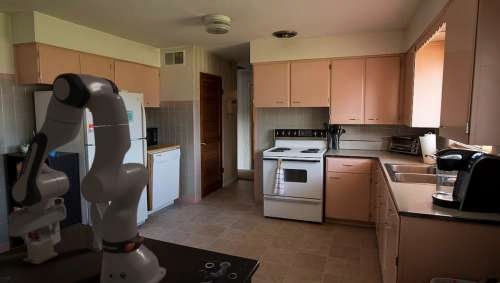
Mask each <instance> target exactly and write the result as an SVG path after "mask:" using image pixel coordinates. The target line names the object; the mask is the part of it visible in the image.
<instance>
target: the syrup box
mask: <svg viewBox="0 0 500 283" xmlns="http://www.w3.org/2000/svg"><path fill="white" fill-rule="evenodd" d="M51 228H52V225H48V226H45V227H43V228H40V229H37V233H38V239H39V238H41V237H45V238H50V239H53V246H55V245H57V244H58V243H59V242H61V231H60V221H59V222H58V226H57V228H56V233H55V234H53V235H50V234H49V233H50V232H49V230H51Z"/></svg>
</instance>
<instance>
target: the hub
mask: <svg viewBox="0 0 500 283" xmlns="http://www.w3.org/2000/svg"><path fill="white" fill-rule="evenodd" d="M57 256H59V253H58V252H55V251H54V254H53V255H51V256H49V257H47V258H44V259H42V260H40V261H36V260H32V259H29V258H28V256H27V257H25V258H23V261H24V262H28V263H31V264H36V265H40V264H42V263H43V262H46V261H48V260H50V259H51V258H54V257H57Z"/></svg>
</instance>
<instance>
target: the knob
mask: <svg viewBox="0 0 500 283" xmlns="http://www.w3.org/2000/svg"><path fill="white" fill-rule="evenodd" d="M33 239H34V240H32V243H30V244H28V245H26V247H27V248H26V249H27V250H26V251H27V257H28V258H29V259H32V260H36V261H40V260H42V259H44V258H47V257H49V256H51V255H53V254H54V252H55V251H54V250H55V249H54V245H53V239H50V238H45V237H41V238H39V237H38V238H37V237H36V238H33Z"/></svg>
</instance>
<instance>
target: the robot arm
mask: <svg viewBox="0 0 500 283" xmlns="http://www.w3.org/2000/svg"><path fill="white" fill-rule="evenodd" d="M51 87H52V88H51V89H52V94H51V96H50V99H49V100H48V101H49V102H48V105H47V109H46V112H45V118H44V122H43V124H42V125H41V128H40V129H39V131H38V132H37V133H36V134H35V135H33V136H32V138H31V140H30V142H29V143H28V147H27V150H26V153H25V156H24V158H23V162H22V165H21V168H20V171H19V174H18V176H17V177H16V180H15V181H14V183H13V185H12V188H11V197H12V199H13V200H14V202H16V203H17V204H19V205H21V206H23V208H20V209H17V210H14V211H11V213H10V214H9V215H8V216H7V222H8V224H7V225H8V227H7V228H8V230H7V232H8V235H9V236H10V237H13V238H18V237H20V238H22V239H23V241H24V245H26V246H27V245H28V244H30V243H32V241H33V239H32V238H29V237H28V236H29V233H31V232H34V231H38V229H40V228H43V227H45V226H48V225H52V228H51V230H49V232H50V233H49V234H50V235H53V234H55V233H56V228H57V226H58V222H59V223H60V222H61V221H64V220H65V219H66V218H67V208H66V205H65V204H64V203H65V200H64V198H63V197H61V196H63V195H66V194H67V193H68V192H69V190H70V188H71V180H70V177H69V175H68V174H67V173H66V172H64V171H63V170H61V171H59V170H55V169H54V168H51V167H50V166H48V164H47V163H46V162H45V161H46V159H47V157H48V156H49V155H50V154H51V153H52V152H54V151H55V150H57V149H58V148H60V147H62V146H65V145H67V144H69V143H71V142H73V141H74V140H75V139H76V138H77V137H78V136H79V133H80V132H81V128H82V121H83V117H84V116H83V115H84V111H85V109H88V110H89V112H90V114H91V116H92V118H91V119H92V126H93V127H92V128H93V136H94V156H93V160H92V163H91V165H90V168H89V170H88V172H87V173H86V175H85V176H83V178H82V180H81V182H80V188H79V189H80V194H81V196H82V197H83V198H84V200H85V201H86V202H88V203H89V204H90V203H92V204H98V203H106V202H109V207H108V208H107V210H106V211H105V212H104V214H103V217H102V227H103V238H102V250H101V251H102V252H103V254H102V261H101V271H100V276H99V281H100V282H99V283H159V282H160V281H162V280H163V278H164V277H165V276H166V274H167V269H166V268H165V267H162V266H160V264H159V260H158V257H157V256H156V255H155V254H154V252H153V251H152V250H149V248H147V247H146V246H145V245H144V244H143V241H144V240H145V237H144V236H142V237H141V236H140V233H139V232H138V211H139V210H138V208H139V204H140V201H141V198H142V197H141V196H142V194H143V192H144V190H145V189H146V188H145V187H147V185H148V183H149V181H150V172H149V170H148V169H149V168H148V167H146V165H144V164H142V163H140V162H126V163H124V160H125V157H126V154H127V153H128V151H130V149H131V147H132V142H131V131H130V120H129V116H128V110H127V108H126V104H125V101H124V98H123V97H122V96H121V95H120V91H119V88H118V86H117V84H116V83H115V82H114V81H113V80H110V79H108V78H105V77H99V76H94V75H90V74H85V73H72V72H67V73H66V72H65V73H61V74H58V75H57V76H56V77H55V78H54V79H53V82H52V86H51Z"/></svg>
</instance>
